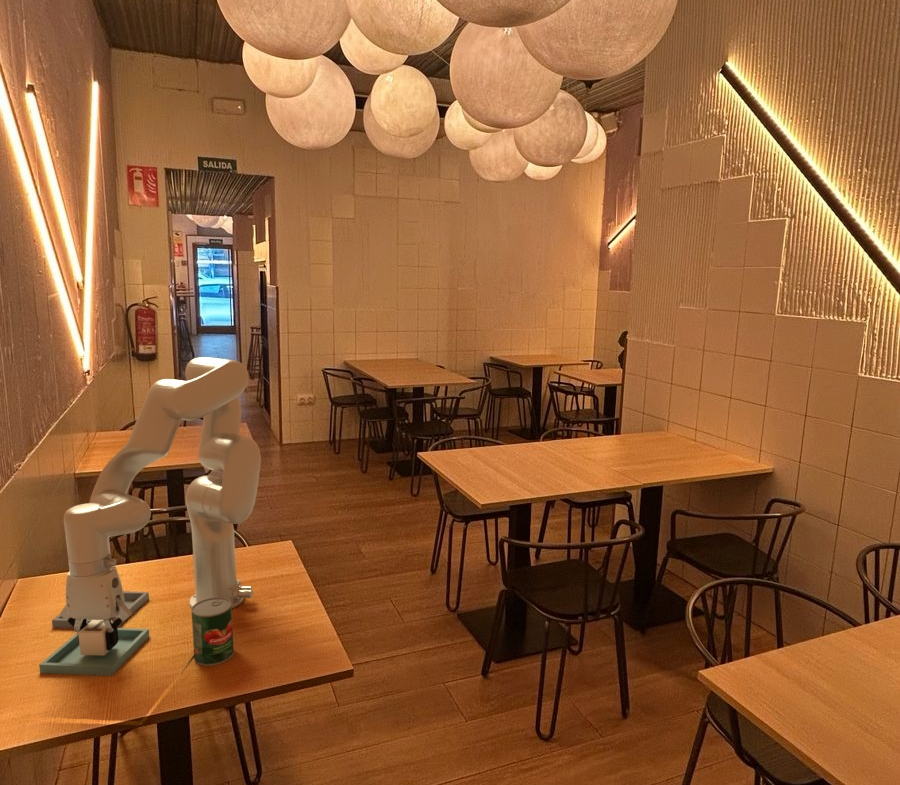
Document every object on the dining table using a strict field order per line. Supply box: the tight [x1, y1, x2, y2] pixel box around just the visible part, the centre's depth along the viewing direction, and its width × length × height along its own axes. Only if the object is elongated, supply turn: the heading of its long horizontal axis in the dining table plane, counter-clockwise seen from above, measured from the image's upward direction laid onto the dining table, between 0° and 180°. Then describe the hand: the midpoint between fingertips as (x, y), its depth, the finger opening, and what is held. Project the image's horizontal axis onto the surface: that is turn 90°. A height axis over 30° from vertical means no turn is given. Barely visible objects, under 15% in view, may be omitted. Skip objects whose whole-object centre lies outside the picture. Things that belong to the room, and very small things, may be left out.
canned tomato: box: [190, 597, 235, 667], centre depth 135 cm, size 8×8×11 cm
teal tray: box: [39, 627, 150, 677], centre depth 135 cm, size 15×15×2 cm
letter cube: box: [78, 620, 112, 656], centre depth 135 cm, size 5×5×5 cm
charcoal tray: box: [51, 590, 150, 629], centre depth 152 cm, size 15×15×2 cm
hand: (99, 645), depth 135 cm, fingers closed on letter cube, 4 cm apart
